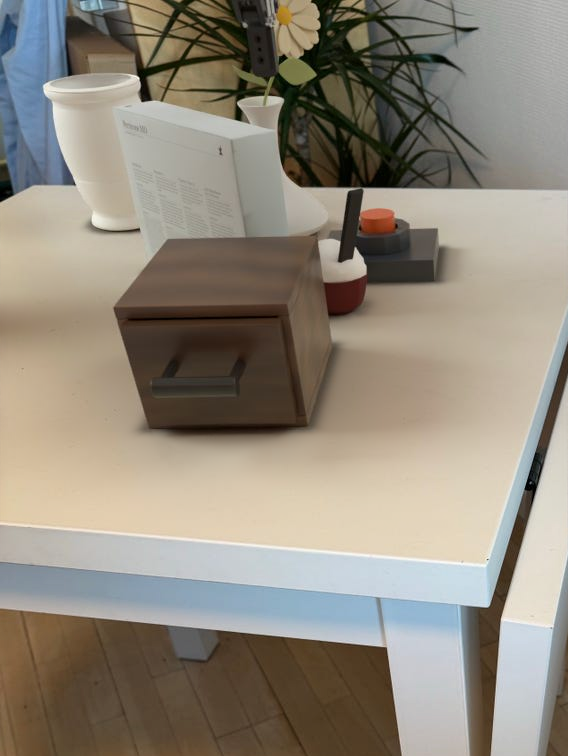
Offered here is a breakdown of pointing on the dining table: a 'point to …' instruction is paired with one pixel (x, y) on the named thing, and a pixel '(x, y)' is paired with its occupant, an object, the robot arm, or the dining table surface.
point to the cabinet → (243, 298)
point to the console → (397, 253)
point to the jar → (96, 142)
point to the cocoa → (344, 262)
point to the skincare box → (200, 175)
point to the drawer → (211, 370)
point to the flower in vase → (263, 111)
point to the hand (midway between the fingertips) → (266, 75)
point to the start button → (377, 221)
